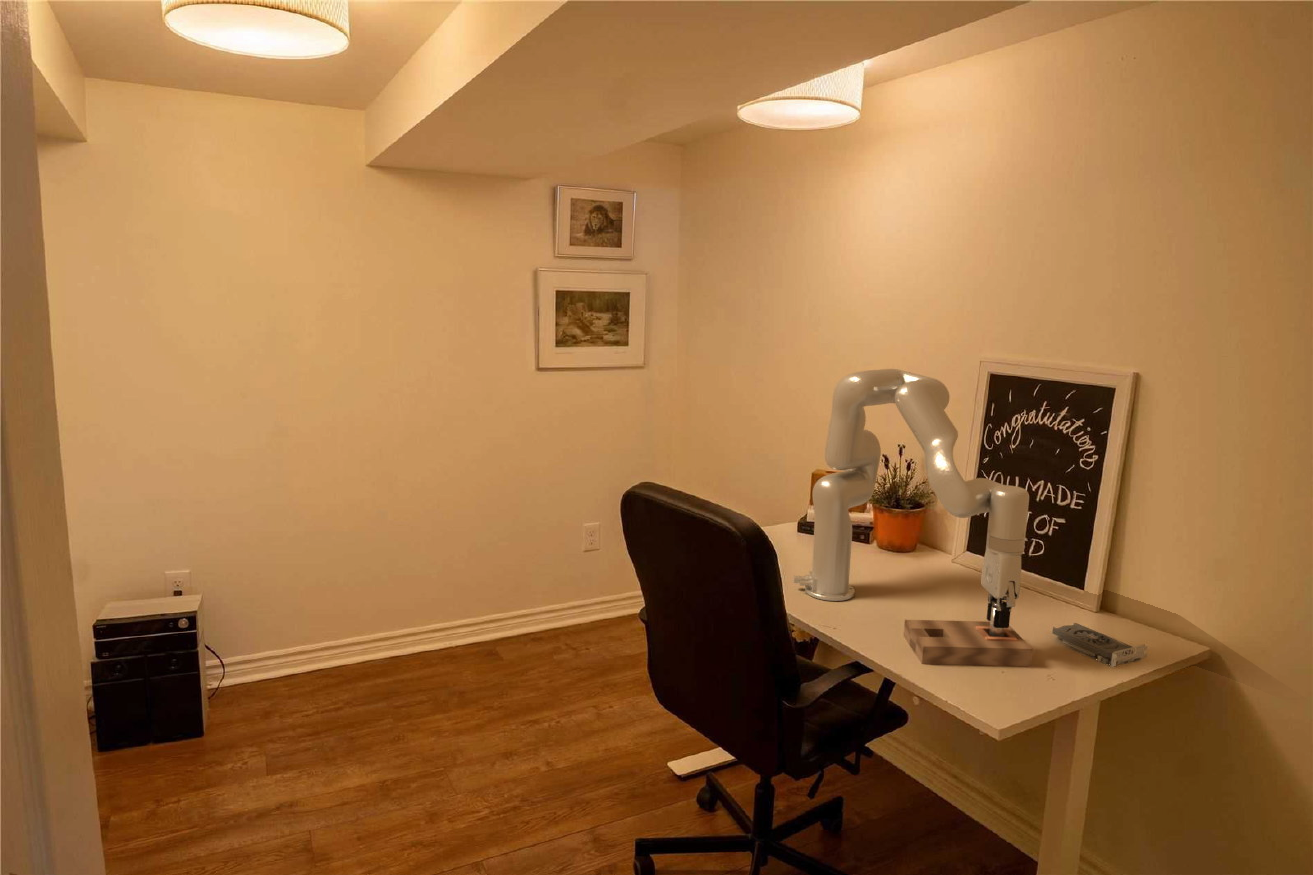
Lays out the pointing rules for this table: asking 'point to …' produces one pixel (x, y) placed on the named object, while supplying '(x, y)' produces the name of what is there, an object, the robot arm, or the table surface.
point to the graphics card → (1099, 645)
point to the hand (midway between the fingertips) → (997, 623)
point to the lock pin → (993, 631)
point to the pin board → (965, 643)
